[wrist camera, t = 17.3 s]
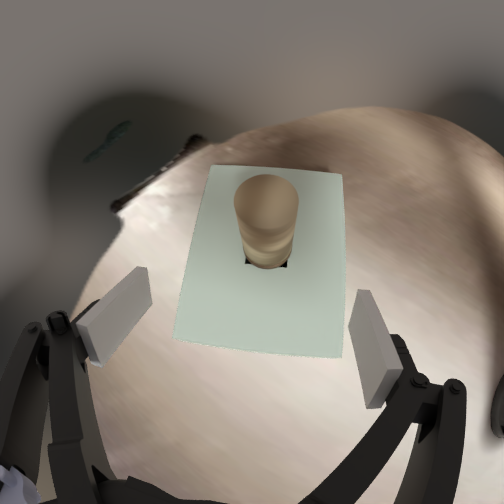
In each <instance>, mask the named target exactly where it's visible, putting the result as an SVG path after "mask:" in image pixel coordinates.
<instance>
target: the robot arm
mask: <svg viewBox="0 0 504 504" xmlns="http://www.w3.org/2000/svg"><path fill="white" fill-rule="evenodd" d="M151 305H152V298H151V292H150V285H149V278H148V270H147V268H145V267H138V266H137V267H136V268H135V269H134V270H133V271H132V272H130V273H129V274H128V275H127V276H126V277H125V278H124V279H123V280H121V281H120V282H119V283H118V284H117V285H116V286H115V287H114V288H113V289H111V290H110V291H109V292H108V293H107V294H106V295H105V296H104V297H103V298H102V299H101V300H100V299H98V300H96V301H94V302H92V303H91V304H90V305H89V306H88V307H87V308H86V309H84V310H83V311H82V313H80V314H79V315H78V316H77V317H76V318H75V319H74V320H73V321H72V322H71V323H70V321H69V319H68V316H67V313H66V312H64V311H55V312H52V313H51V314H49V315H48V316H47V317H46V322H47V325H48V327H49V330H43V327H42V325H41V323H39V322H32V323H29V324H28V325H27V326H25V328H24V329H23V331H22V333H21V335H20V338H19V339H18V341H17V344H16V346H15V348H14V350H13V352H12V354H11V357H10V359H9V361H8V364H7V366H6V369H5V371H4V374H3V376H2V378H1V381H0V504H37V503H39V502H40V501H41V496H40V494H39V493H38V492H37V489H36V483H37V478H38V472H39V464H40V453H41V444H42V436H43V429H44V423H45V417H46V411H47V406H48V402H49V406H50V420H51V430H52V438H53V442H52V444H48V457H49V462H50V468H51V474H52V479H53V483H54V487H55V491H56V495H57V498H56V499H53V500H50V501H46V502H43V503H39V504H227V503H221V502H216V501H211V500H183V499H178V498H175V497H174V496H172V495H170V494H168V493H166V492H165V491H163V490H161V489H159V488H158V487H156V486H154V485H152V484H150V483H147V482H144V481H141V480H139V479H136V478H134V477H131V476H128V478H127V480H121V479H117V478H116V476H115V475H114V473H113V471H112V470H111V468H110V465H109V462H108V459H107V456H106V453H105V450H104V446H103V443H102V439H101V435H100V431H99V427H98V423H97V419H96V415H95V410H94V405H93V400H92V395H91V389H90V383H89V377H88V370H87V364H86V362H85V359H86V358H87V357H88V356H89V359H90V361H91V363H92V364H93V365H96V366H99V367H101V368H103V367H104V365H105V364H106V363H107V361H108V360H109V359H110V357H111V356H112V355H113V353H114V352H115V351H116V349H117V348H118V347H119V345H120V344H121V343H122V342H123V340H124V339H125V338H126V336H127V335H128V334H129V333H130V331H131V330H132V329H133V327H134V326H135V325H136V324H137V322H138V321H139V320H140V319H141V317H142V316H143V315H144V314H145V312H146V311H147V310H148V309H149V307H150V306H151ZM348 328H349V332H350V336H351V340H352V344H353V348H354V352H355V357H356V361H357V366H358V370H359V375H360V380H361V384H362V389H363V394H364V400H365V405H366V409H375V408H381V407H382V405H383V404H384V402H385V401H386V405H387V406H386V407H385V409H384V410H383V412H382V413H381V415H380V416H379V417H378V419H377V420H376V421H375V423H374V424H373V425H372V427H371V428H370V429H369V430H368V432H367V433H366V434H365V436H364V437H363V438H362V439H361V440H360V442H359V443H358V444H357V445H356V446H355V448H354V449H353V450H352V451H351V452H350V453H349V455H348V456H347V457H346V458H345V459H344V460H343V461H342V462H341V463H340V465H339V466H338V467H337V468H336V469H335V470H334V471H333V472H332V473H331V474H330V475H329V476H328V477H327V478H326V479H325V480H324V481H323V482H322V483H321V484H320V485H319V486H318V487H317V488H316V489H315V490H313V491H312V492H311V493H310V494H309V495H308V496H306V497H305V498H304V499H303V500H302V501H300V502H299V503H298V504H354V503H355V502H356V501H357V500H358V499H359V498H360V496H361V495H362V494H363V493H364V492H365V490H366V489H367V488H368V487H369V485H370V484H371V483H372V482H373V480H374V479H375V478H376V476H377V475H378V474H379V472H380V471H381V470H382V468H383V467H384V466H385V464H386V463H387V461H388V460H389V458H390V457H391V455H392V454H393V452H394V451H395V449H396V448H397V446H398V445H399V443H400V442H401V440H402V438H403V437H404V435H405V433H406V432H407V430H408V428H409V426H410V425H411V423H418V424H419V425H418V429H417V433H416V437H415V441H414V445H413V449H412V452H411V456H410V459H409V463H408V466H407V469H406V472H405V475H404V478H403V481H402V484H401V486H400V489H399V492H398V494H397V497H396V499H395V502H394V504H453V500H454V497H455V492H456V488H457V484H458V479H459V474H460V468H461V462H462V455H463V447H464V438H465V426H466V401H467V391H466V387H465V385H464V384H463V383H462V382H461V381H460V380H457V379H448V380H447V381H446V382H445V383H444V385H437V384H432V383H430V382H429V379H428V378H427V377H426V376H425V375H424V374H422V373H419V372H418V371H417V369H416V367H415V364H414V362H413V360H412V357H411V355H410V354H409V350H408V349H407V346H406V344H405V342H404V340H403V339H402V338H401V337H400V336H399V335H398V334H389V332H388V329H387V327H386V325H385V322H384V320H383V318H382V316H381V313H380V311H379V309H378V307H377V305H376V302H375V300H374V298H373V296H372V294H371V292H370V290H360V289H358V292H357V296H356V300H355V303H354V307H353V311H352V315H351V318H350V322H349V325H348ZM491 425H492V430H493V432H494V434H495V435H496V436H498V437H502V438H504V375H503V377H502V379H501V381H500V383H499V385H498V388H497V390H496V393H495V397H494V400H493V405H492V411H491Z"/></svg>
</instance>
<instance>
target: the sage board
mask: <svg viewBox="0 0 504 504" xmlns="http://www.w3.org/2000/svg"><path fill="white" fill-rule="evenodd" d="M262 174H271V175H276V176H279V177H282V178H284V179H286V180H287V181H289V182H290V183H291V184H292V185H293V186H294V188H295V189H296V191H297V193H298V197H299V205H298V212H297V218H296V224H295V230H294V236H293V242H292V251H291V254H290V257H289V258H288V260H287V261H286V268H284V267H277V268H274V269H261V268H258V267H256V266H254V265H252V264H250V262H249V261H248V260H247V258H246V256H245V254H244V250H243V244H242V239H241V235H240V230H239V226H238V221H237V217H236V212H235V208H234V195H235V192H236V190H237V189H238V187H239V186H240V185H241V184H242V183H243V182H244V181H246V180H247V179H249V178H251V177H253V176H257V175H262ZM345 284H346V249H345V217H344V198H343V184H342V174H335V173H327V172H318V171H308V170H298V169H286V168H273V167H257V166H235V165H211V168H210V171H209V175H208V178H207V182H206V186H205V190H204V193H203V197H202V201H201V205H200V209H199V213H198V217H197V221H196V225H195V229H194V233H193V237H192V242H191V246H190V250H189V255H188V259H187V264H186V269H185V273H184V278H183V283H182V288H181V293H180V298H179V303H178V308H177V314H176V319H175V325H174V331H173V336H172V338H173V339H176V340H180V341H183V342H188V343H194V344H199V345H205V346H211V347H218V348H224V349H231V350H239V351H247V352H255V353H264V354H274V355H284V356H297V357H312V358H342V348H343V334H344V316H345Z"/></svg>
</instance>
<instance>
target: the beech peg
mask: <svg viewBox="0 0 504 504" xmlns="http://www.w3.org/2000/svg"><path fill="white" fill-rule="evenodd" d="M298 205H299V197H298V193H297V191H296V189H295V188H294V186H293V185H292V184H291V183H290V182H289V181H287V180H286V179H284V178H282V177H279V176H276V175H271V174H262V175H257V176H253V177H251V178H249V179H247V180H246V181H244V182H243V183H242V184H241V185H240V186H239V187H238V189H237V190H236V192H235V195H234V208H235V212H236V217H237V221H238V226H239V230H240V235H241V239H242V244H243V250H244V254H245V256H246V258H247V260H248V261H249V262H250V263H251V264H252V265H254V266H256V267H258V268H261V269H274V268H277V267H279V266H281V265H283V264H284V263H285V262H286V261H287V260H288V258H289V257H290V254H291V251H292V242H293V236H294V230H295V224H296V218H297V212H298Z"/></svg>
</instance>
